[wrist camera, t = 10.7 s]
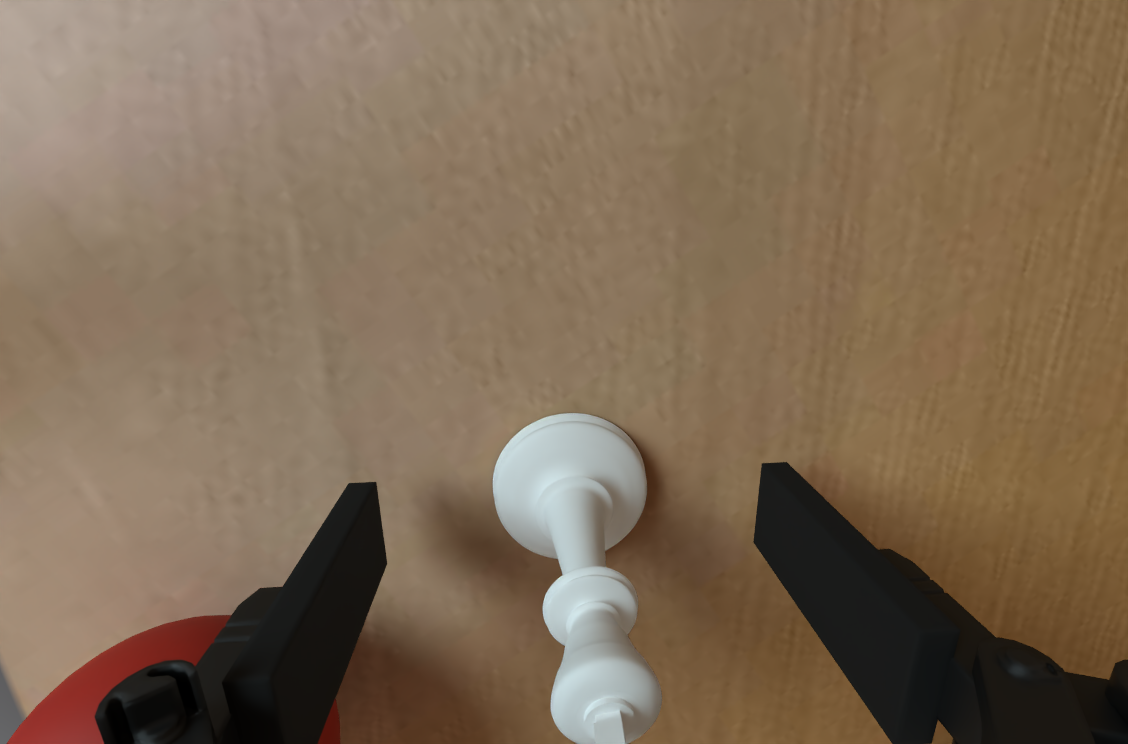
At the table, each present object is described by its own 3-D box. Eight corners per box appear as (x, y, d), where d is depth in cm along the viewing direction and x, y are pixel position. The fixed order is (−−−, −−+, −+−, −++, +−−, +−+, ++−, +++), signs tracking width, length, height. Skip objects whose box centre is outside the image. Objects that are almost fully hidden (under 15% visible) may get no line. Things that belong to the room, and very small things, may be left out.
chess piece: (632, 398, 16) (786, 663, 7) (654, 531, 18) (805, 904, 8) (476, 430, 16) (409, 744, 7) (511, 562, 18) (497, 972, 8)
